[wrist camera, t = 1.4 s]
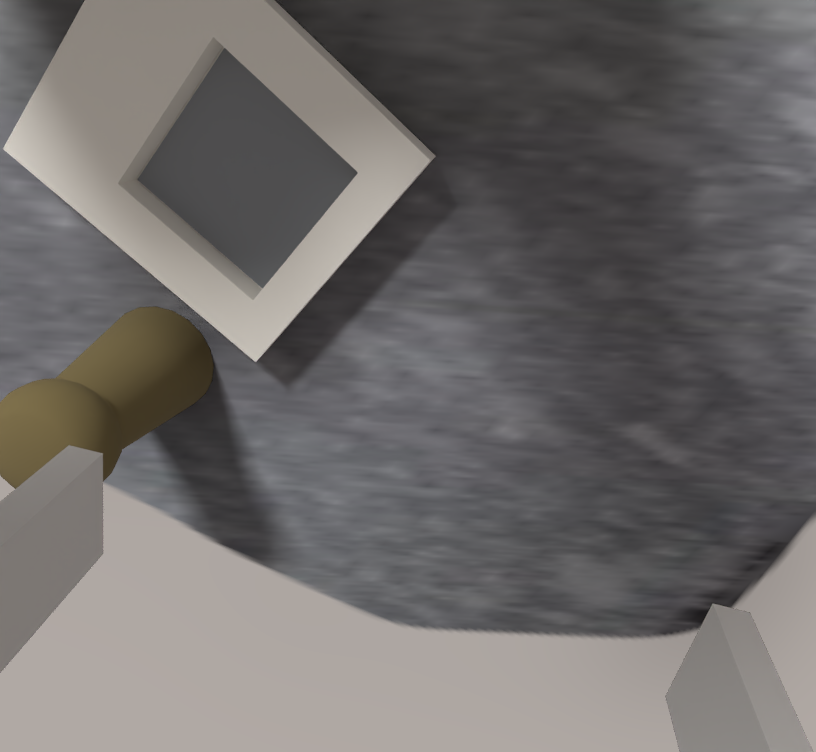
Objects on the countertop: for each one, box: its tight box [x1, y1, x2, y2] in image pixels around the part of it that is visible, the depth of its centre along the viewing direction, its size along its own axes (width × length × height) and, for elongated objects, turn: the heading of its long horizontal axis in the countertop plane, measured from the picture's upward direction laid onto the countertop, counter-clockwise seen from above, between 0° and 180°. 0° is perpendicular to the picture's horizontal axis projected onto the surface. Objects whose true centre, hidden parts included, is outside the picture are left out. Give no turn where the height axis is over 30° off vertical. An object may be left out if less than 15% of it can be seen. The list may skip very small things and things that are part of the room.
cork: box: [0, 307, 214, 489], centre depth 31 cm, size 6×6×11 cm
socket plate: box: [3, 0, 436, 362], centre depth 31 cm, size 15×13×2 cm
